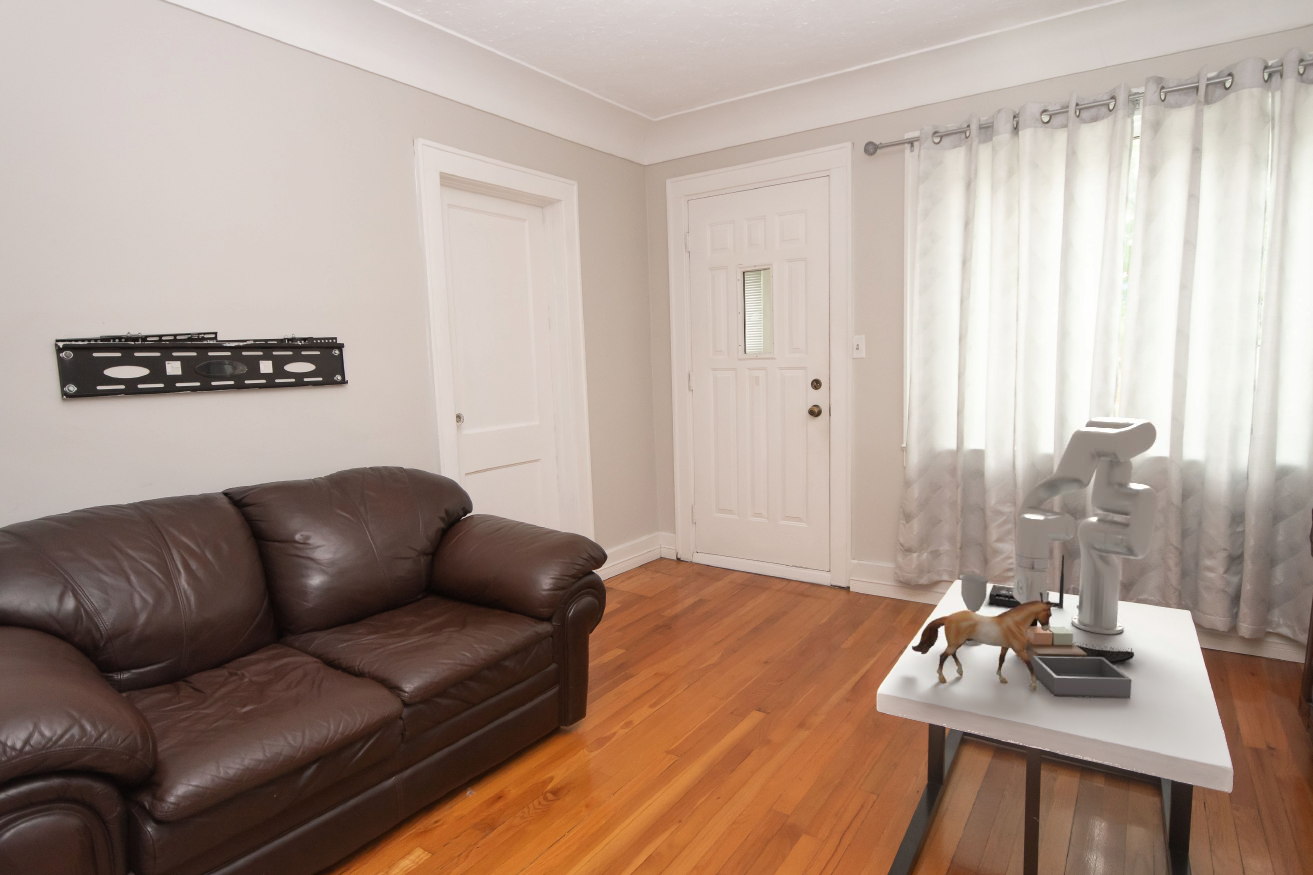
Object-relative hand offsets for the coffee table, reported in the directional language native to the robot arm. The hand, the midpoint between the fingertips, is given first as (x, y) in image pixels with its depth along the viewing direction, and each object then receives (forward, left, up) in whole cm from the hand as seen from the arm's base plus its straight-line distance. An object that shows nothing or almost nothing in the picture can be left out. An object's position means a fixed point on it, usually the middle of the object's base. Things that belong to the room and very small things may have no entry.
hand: (1029, 629), depth 185 cm
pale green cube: (+5, +5, -1) cm, 7 cm away
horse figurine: (+16, -18, -6) cm, 25 cm away
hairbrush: (0, +12, -7) cm, 14 cm away
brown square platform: (+7, +2, -6) cm, 10 cm away
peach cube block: (+5, 0, -1) cm, 5 cm away
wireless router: (-37, +14, -7) cm, 40 cm away
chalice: (-6, -12, -6) cm, 15 cm away
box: (+19, +3, -6) cm, 21 cm away
